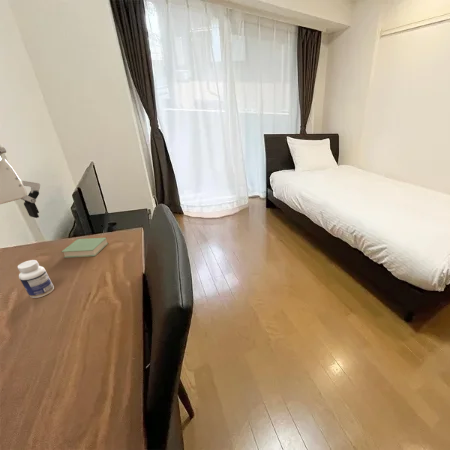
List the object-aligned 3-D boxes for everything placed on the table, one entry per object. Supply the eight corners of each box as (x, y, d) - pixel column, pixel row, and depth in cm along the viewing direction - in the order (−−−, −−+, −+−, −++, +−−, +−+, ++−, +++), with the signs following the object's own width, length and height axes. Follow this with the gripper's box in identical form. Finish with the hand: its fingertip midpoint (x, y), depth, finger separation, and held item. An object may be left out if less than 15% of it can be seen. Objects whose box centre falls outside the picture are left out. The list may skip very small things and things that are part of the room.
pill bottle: (29, 292, 77) (13, 263, 73) (53, 283, 81) (39, 256, 76) (30, 301, 74) (13, 272, 70) (55, 292, 77) (41, 263, 73)
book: (64, 257, 93) (61, 251, 92) (80, 244, 101) (77, 238, 100) (95, 256, 94) (92, 250, 93) (108, 243, 102) (106, 237, 101)
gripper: (15, 148, 70) (43, 209, 77) (-92, 163, 56) (-45, 236, 63) (31, 150, 67) (59, 213, 75) (-77, 166, 53) (-29, 242, 60)
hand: (11, 224), depth 69 cm, fingers open, 9 cm apart
